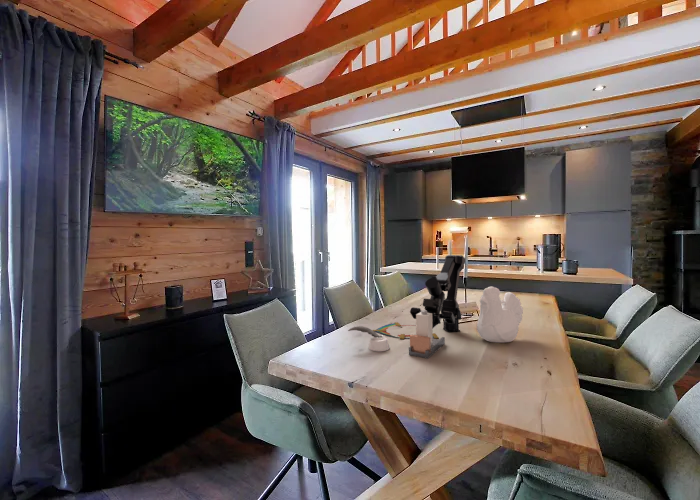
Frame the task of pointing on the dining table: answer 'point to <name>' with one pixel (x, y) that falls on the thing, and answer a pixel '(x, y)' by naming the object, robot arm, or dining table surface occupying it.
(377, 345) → the inkwell
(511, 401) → the dining table surface
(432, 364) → the dining table surface
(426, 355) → the rail
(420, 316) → the block
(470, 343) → the dining table surface
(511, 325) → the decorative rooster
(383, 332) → the ribbon cable
